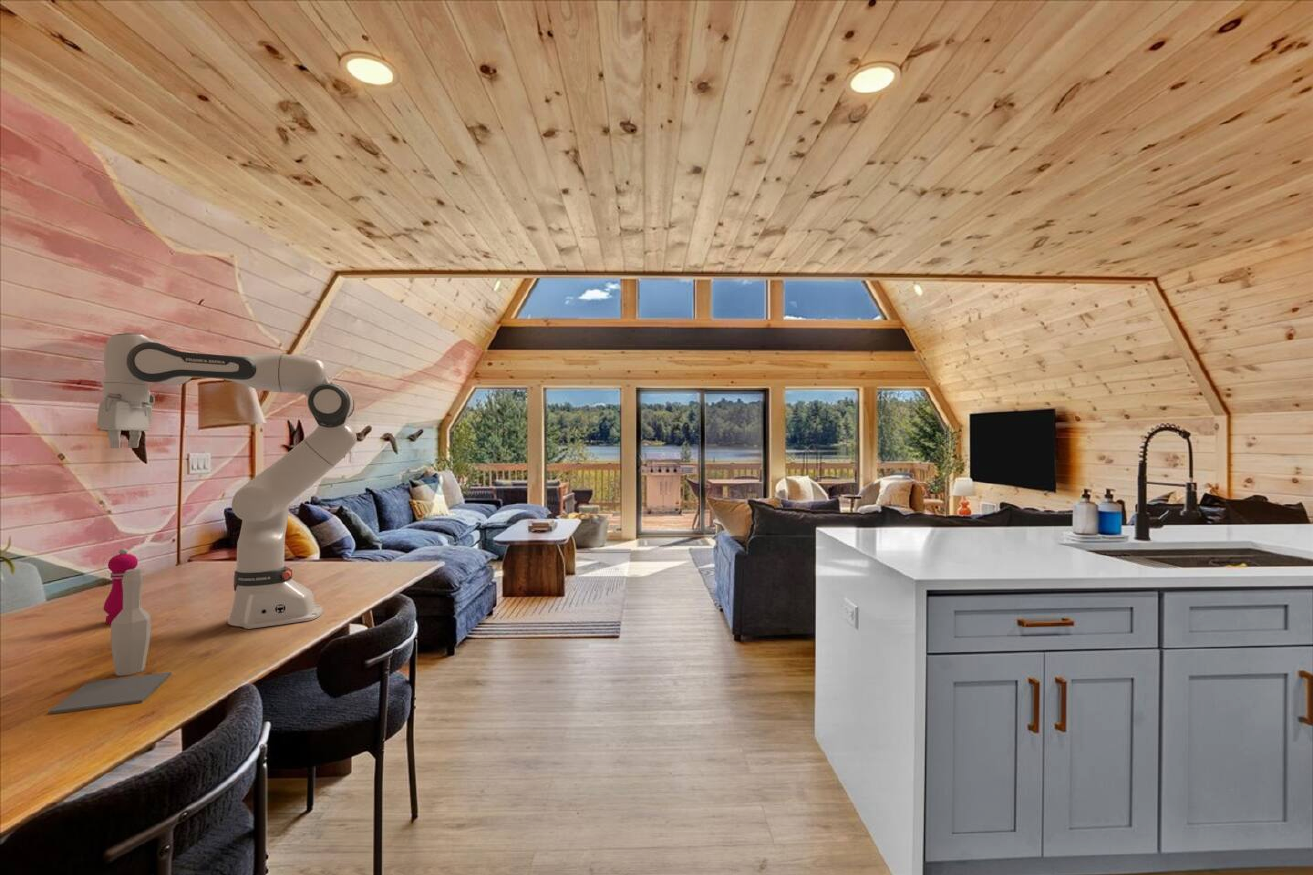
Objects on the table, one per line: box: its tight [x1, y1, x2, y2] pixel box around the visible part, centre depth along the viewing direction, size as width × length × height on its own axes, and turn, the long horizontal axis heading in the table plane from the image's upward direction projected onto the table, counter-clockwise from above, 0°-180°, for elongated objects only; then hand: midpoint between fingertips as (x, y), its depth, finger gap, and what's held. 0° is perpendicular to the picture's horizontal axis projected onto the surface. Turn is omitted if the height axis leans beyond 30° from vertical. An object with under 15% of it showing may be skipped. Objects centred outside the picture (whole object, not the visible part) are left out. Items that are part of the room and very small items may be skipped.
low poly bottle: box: [110, 568, 152, 677], centre depth 123 cm, size 6×6×22 cm
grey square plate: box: [48, 671, 172, 715], centre depth 113 cm, size 14×14×1 cm
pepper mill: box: [103, 548, 139, 626], centre depth 156 cm, size 7×7×20 cm
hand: (124, 448), depth 148 cm, fingers open, 8 cm apart
